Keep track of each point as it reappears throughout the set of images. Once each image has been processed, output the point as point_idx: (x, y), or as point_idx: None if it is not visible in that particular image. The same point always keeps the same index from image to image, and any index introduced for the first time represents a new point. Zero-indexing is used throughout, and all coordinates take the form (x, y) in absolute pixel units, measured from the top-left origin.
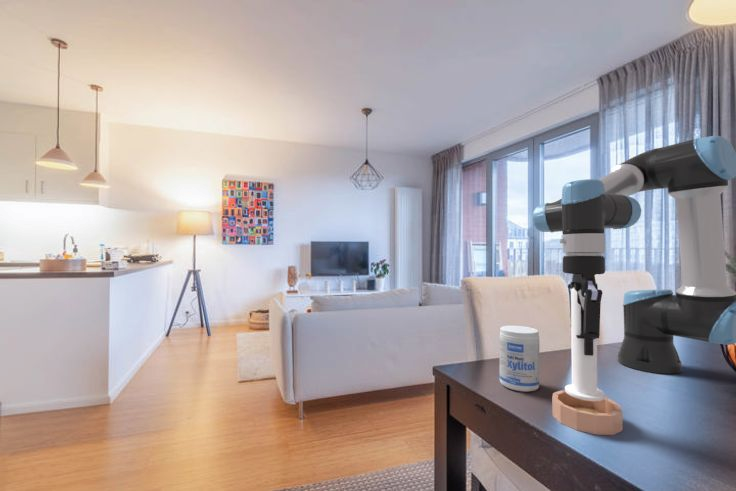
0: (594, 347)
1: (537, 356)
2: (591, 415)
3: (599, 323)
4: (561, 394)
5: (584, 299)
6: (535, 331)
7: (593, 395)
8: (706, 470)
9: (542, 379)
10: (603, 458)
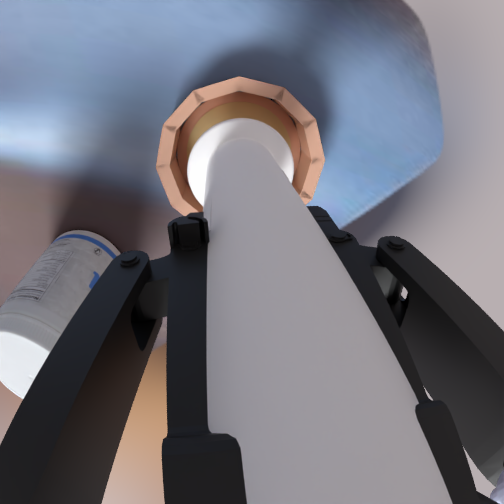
0: (306, 207)
1: (69, 285)
2: (321, 169)
3: (457, 288)
4: (196, 208)
5: (480, 469)
6: (26, 343)
7: (276, 157)
8: (394, 19)
9: (22, 213)
10: (393, 170)
